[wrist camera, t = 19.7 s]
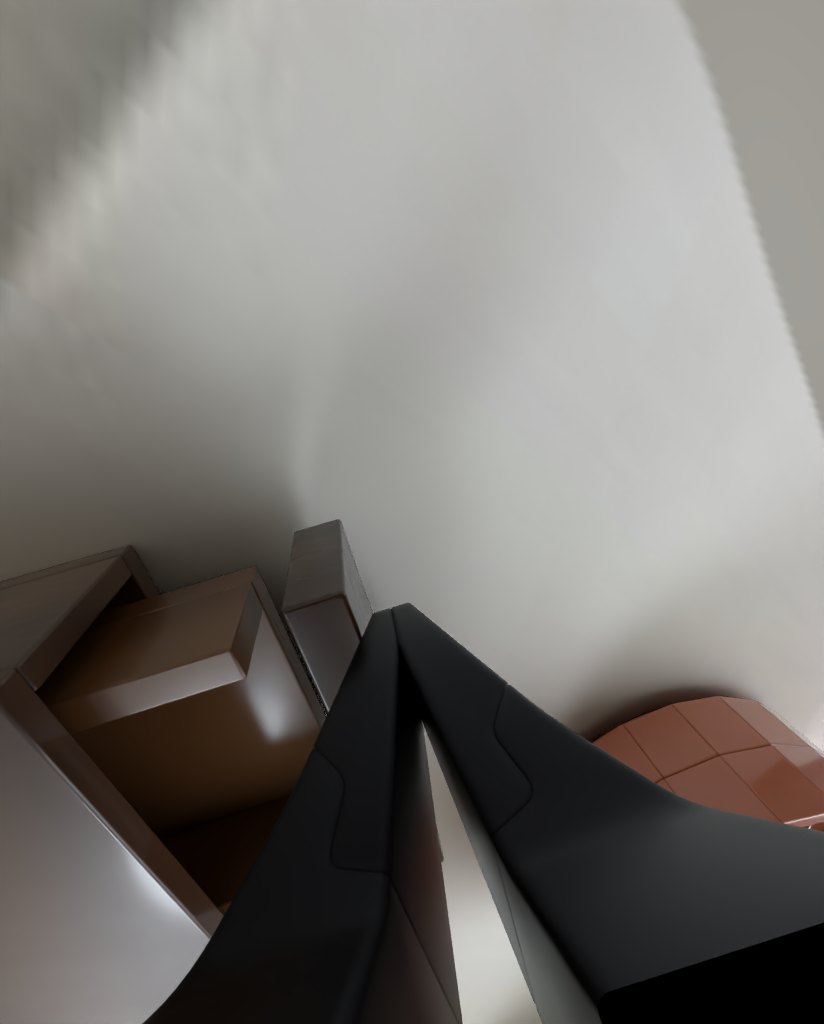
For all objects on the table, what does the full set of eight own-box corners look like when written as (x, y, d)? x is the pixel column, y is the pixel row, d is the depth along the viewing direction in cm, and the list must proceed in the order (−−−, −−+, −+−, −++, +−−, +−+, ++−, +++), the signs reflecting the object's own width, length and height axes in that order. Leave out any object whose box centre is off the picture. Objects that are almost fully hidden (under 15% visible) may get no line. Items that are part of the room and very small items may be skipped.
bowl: (771, 818, 22) (884, 941, 18) (544, 915, 22) (600, 1067, 17) (784, 639, 17) (952, 751, 12) (483, 763, 16) (542, 926, 12)
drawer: (385, 503, 11) (408, 571, 8) (453, 738, 14) (487, 847, 11) (-86, 642, 10) (-273, 781, 7) (114, 853, 14) (51, 1005, 11)
